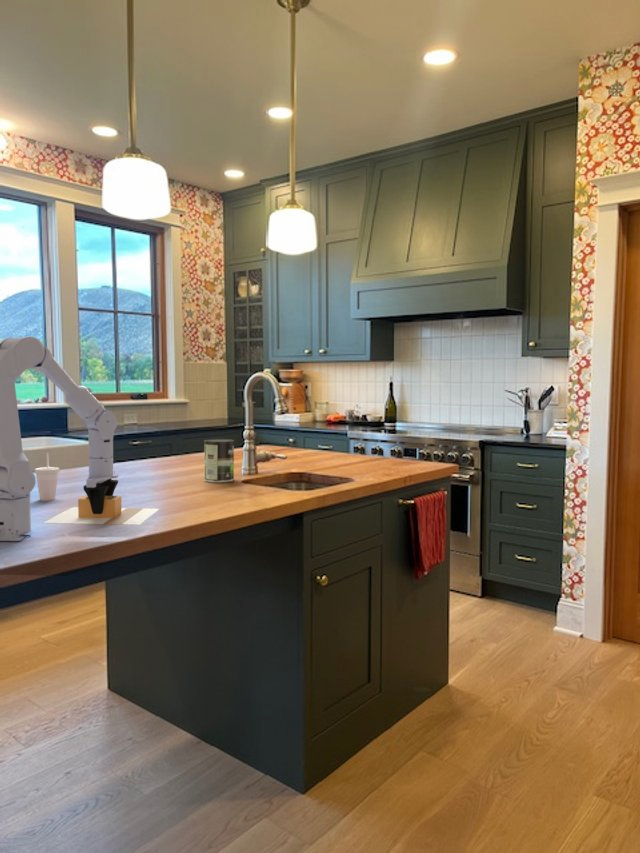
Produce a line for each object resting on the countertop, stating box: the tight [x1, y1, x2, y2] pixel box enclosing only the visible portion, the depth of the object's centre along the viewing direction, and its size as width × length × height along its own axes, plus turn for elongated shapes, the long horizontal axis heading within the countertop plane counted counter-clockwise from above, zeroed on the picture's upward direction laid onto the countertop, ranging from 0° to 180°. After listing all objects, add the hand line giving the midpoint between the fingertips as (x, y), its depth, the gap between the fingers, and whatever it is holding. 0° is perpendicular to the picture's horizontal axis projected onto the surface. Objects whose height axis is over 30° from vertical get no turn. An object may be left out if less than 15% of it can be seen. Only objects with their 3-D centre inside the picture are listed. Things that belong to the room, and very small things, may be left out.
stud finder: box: [77, 494, 122, 518], centre depth 157 cm, size 5×9×5 cm, turn 90°
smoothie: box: [34, 452, 60, 502], centre depth 175 cm, size 6×6×14 cm
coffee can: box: [203, 438, 235, 484], centre depth 218 cm, size 10×10×14 cm
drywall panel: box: [42, 506, 160, 526], centre depth 157 cm, size 18×23×1 cm
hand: (101, 511), depth 157 cm, fingers closed on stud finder, 5 cm apart
